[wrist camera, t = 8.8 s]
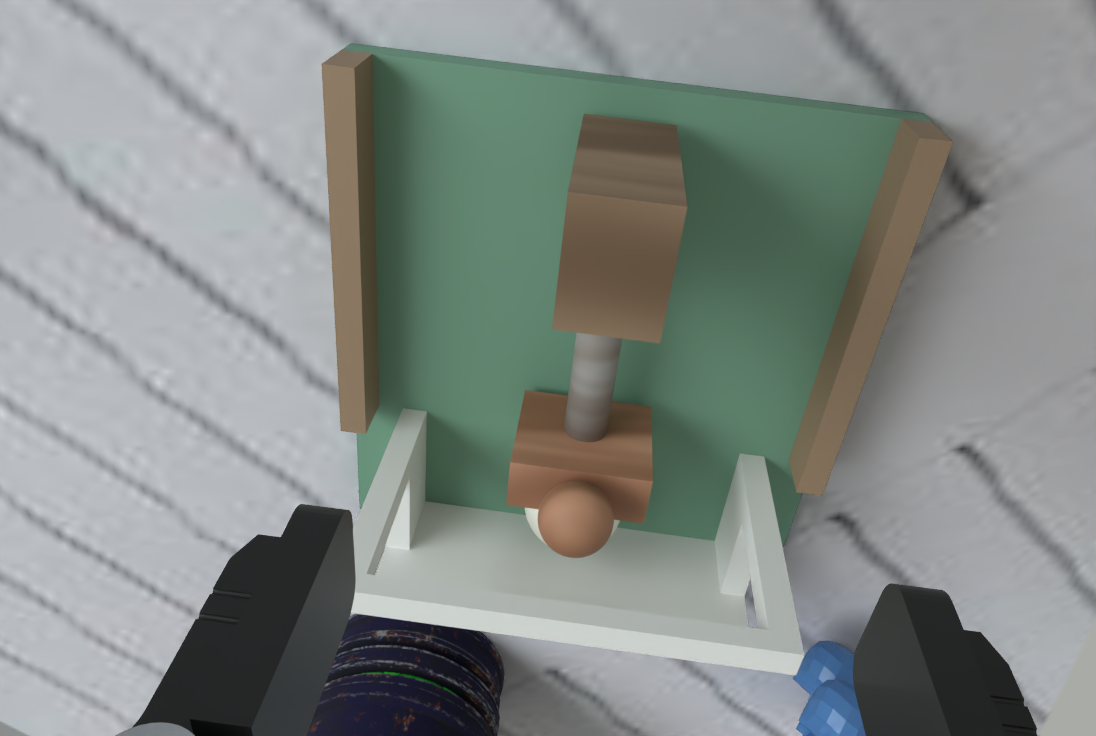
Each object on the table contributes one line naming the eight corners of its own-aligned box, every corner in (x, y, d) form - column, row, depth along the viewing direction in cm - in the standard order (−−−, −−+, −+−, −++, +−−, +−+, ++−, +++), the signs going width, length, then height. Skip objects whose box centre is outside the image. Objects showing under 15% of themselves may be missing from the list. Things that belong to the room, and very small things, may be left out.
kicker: (552, 109, 26) (527, 188, 20) (707, 128, 26) (727, 213, 20) (520, 435, 34) (495, 563, 28) (641, 452, 34) (642, 584, 28)
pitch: (350, 43, 27) (208, 144, 18) (924, 113, 27) (1068, 252, 18) (365, 494, 38) (281, 696, 29) (773, 550, 38) (816, 773, 29)
